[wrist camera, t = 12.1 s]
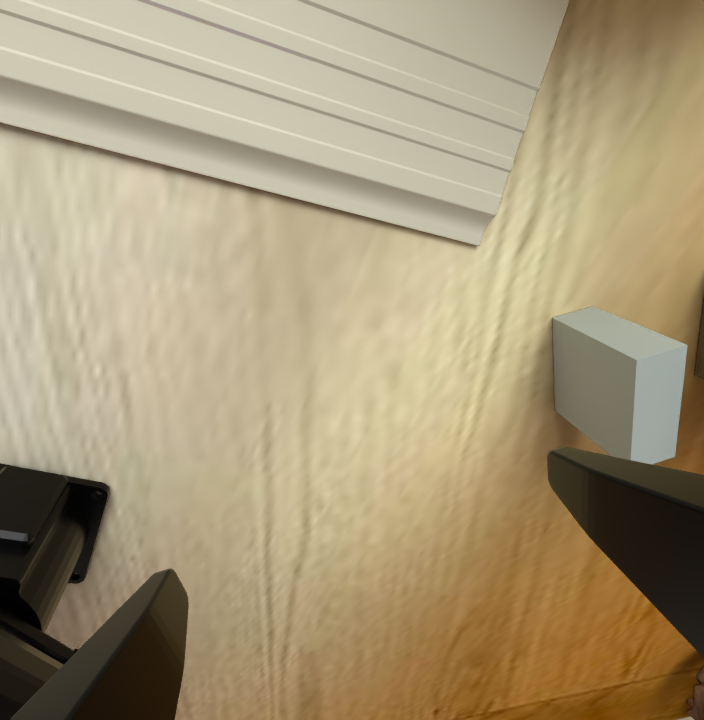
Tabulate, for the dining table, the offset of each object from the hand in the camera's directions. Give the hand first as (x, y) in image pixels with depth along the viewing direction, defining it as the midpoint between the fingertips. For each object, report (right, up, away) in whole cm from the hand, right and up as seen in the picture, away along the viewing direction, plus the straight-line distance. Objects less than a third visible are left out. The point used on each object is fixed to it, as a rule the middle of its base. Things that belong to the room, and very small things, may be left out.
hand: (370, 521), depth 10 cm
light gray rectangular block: (+12, +4, +15) cm, 20 cm away
